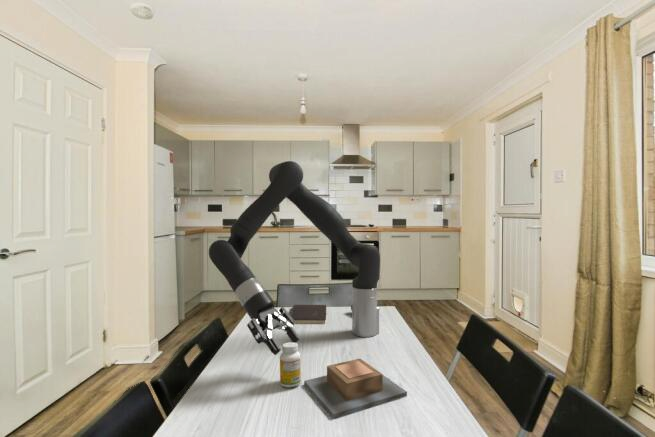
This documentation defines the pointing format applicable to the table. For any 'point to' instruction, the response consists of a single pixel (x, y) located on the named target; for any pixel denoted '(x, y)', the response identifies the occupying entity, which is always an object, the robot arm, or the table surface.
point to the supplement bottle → (290, 365)
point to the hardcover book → (308, 314)
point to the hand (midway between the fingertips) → (288, 346)
